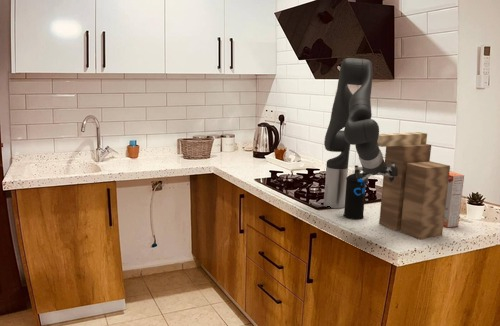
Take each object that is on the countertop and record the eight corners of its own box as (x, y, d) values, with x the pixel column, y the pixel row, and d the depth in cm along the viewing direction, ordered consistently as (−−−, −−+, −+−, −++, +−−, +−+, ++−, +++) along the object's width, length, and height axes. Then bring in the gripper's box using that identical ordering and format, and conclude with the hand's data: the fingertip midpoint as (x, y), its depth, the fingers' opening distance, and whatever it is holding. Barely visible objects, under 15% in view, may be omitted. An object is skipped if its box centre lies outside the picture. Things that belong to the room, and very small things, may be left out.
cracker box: (421, 217, 195) (426, 167, 191) (433, 216, 198) (438, 167, 194) (446, 228, 183) (452, 175, 179) (458, 226, 185) (465, 174, 181)
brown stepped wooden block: (417, 239, 169) (426, 151, 162) (379, 224, 185) (386, 143, 179) (443, 234, 175) (454, 149, 169) (404, 219, 192) (412, 141, 185)
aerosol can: (339, 215, 194) (342, 167, 190) (351, 212, 199) (355, 165, 195) (355, 220, 188) (359, 171, 184) (367, 217, 193) (371, 169, 189)
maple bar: (381, 146, 169) (382, 135, 168) (373, 145, 172) (374, 134, 172) (426, 144, 180) (427, 133, 179) (417, 142, 183) (418, 132, 182)
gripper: (349, 170, 160) (359, 191, 173) (393, 166, 155) (400, 188, 167) (350, 151, 164) (359, 173, 176) (392, 146, 158) (399, 169, 171)
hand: (379, 180), depth 172 cm, fingers open, 8 cm apart
